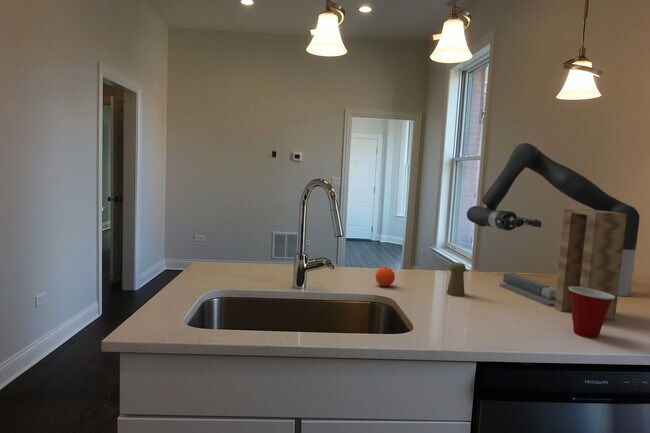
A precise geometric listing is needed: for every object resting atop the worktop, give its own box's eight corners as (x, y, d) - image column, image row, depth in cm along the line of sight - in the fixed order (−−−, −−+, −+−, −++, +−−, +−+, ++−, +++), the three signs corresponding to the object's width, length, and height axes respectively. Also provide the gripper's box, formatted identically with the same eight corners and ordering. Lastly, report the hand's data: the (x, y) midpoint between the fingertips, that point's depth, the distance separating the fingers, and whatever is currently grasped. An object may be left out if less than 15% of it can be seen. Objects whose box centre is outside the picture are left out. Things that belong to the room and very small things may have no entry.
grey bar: (510, 282, 174) (511, 273, 173) (557, 299, 151) (558, 289, 150) (503, 282, 173) (503, 273, 173) (548, 299, 150) (549, 289, 149)
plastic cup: (620, 342, 114) (625, 296, 113) (580, 341, 113) (585, 295, 112) (592, 327, 125) (596, 285, 124) (555, 326, 124) (559, 284, 123)
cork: (467, 294, 154) (470, 263, 153) (459, 297, 150) (462, 265, 149) (451, 290, 159) (454, 260, 158) (443, 293, 154) (445, 262, 153)
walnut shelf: (583, 307, 145) (593, 209, 142) (614, 319, 133) (626, 213, 130) (554, 308, 142) (564, 208, 139) (584, 321, 131) (595, 212, 128)
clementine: (391, 283, 166) (392, 264, 165) (400, 287, 159) (401, 268, 159) (371, 283, 163) (372, 264, 163) (379, 288, 157) (381, 268, 156)
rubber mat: (524, 285, 172) (524, 283, 172) (576, 305, 147) (577, 303, 147) (499, 285, 170) (499, 283, 170) (548, 306, 145) (548, 303, 144)
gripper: (487, 210, 176) (514, 213, 160) (518, 210, 179) (547, 214, 163) (486, 229, 176) (512, 234, 161) (517, 229, 180) (546, 234, 164)
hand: (530, 224), depth 162 cm, fingers open, 8 cm apart
